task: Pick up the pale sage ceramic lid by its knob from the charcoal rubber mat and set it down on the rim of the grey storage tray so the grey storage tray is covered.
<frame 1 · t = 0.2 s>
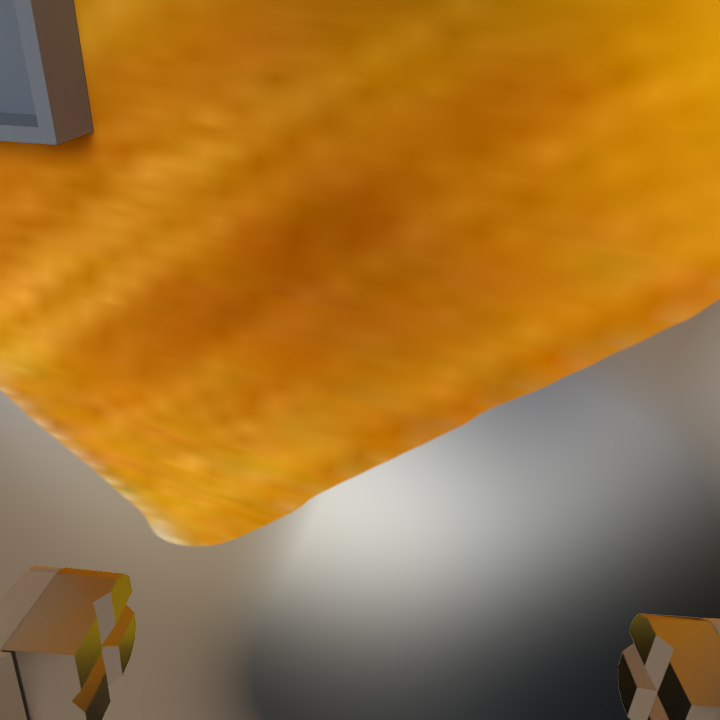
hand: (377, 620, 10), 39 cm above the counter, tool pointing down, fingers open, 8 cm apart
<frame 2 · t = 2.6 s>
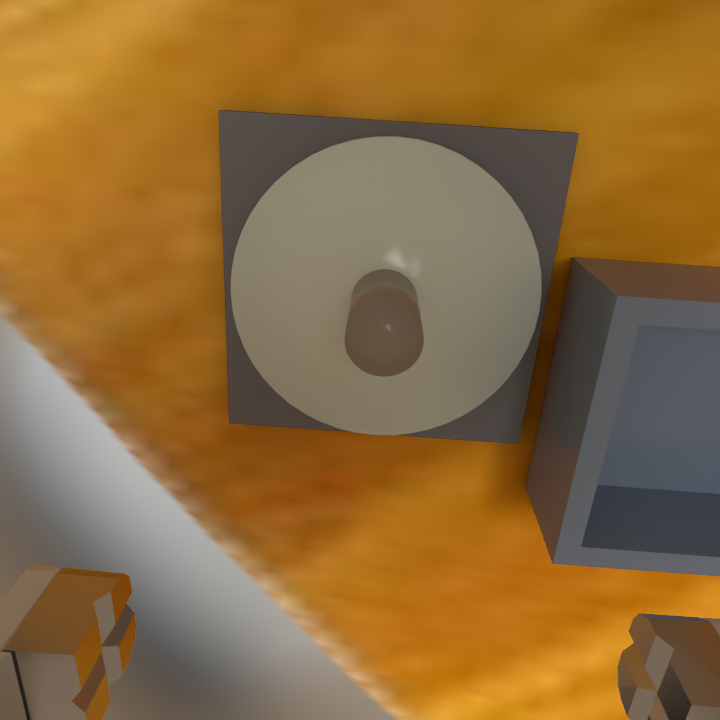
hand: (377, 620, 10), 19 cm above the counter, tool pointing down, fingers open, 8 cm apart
mat: (384, 289, 27), on the counter
grey storage tray: (674, 391, 28), on the counter
lid: (384, 294, 26), point 1 cm above the counter, touching mat
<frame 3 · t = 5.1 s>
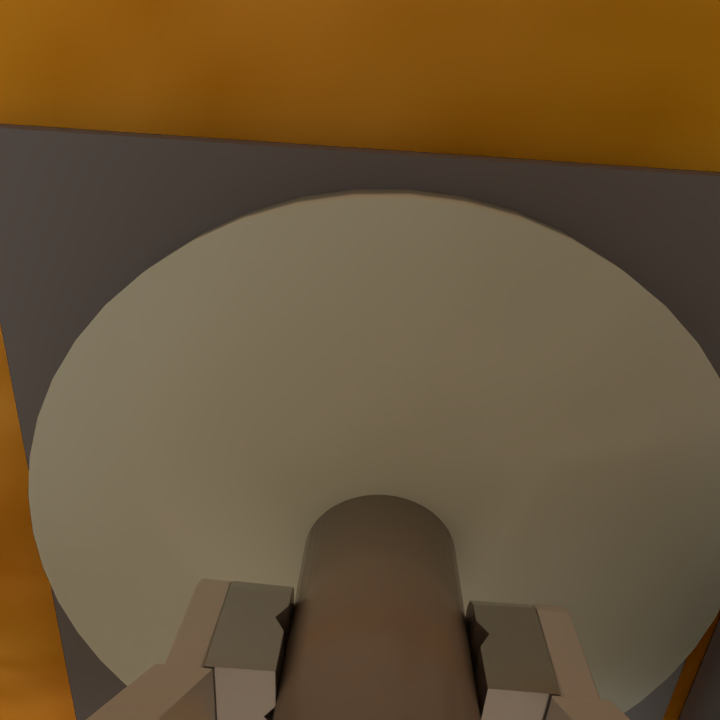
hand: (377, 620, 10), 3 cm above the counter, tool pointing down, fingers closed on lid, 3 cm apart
mat: (379, 497, 13), on the counter
lid: (380, 522, 12), point 1 cm above the counter, touching gripper, mat
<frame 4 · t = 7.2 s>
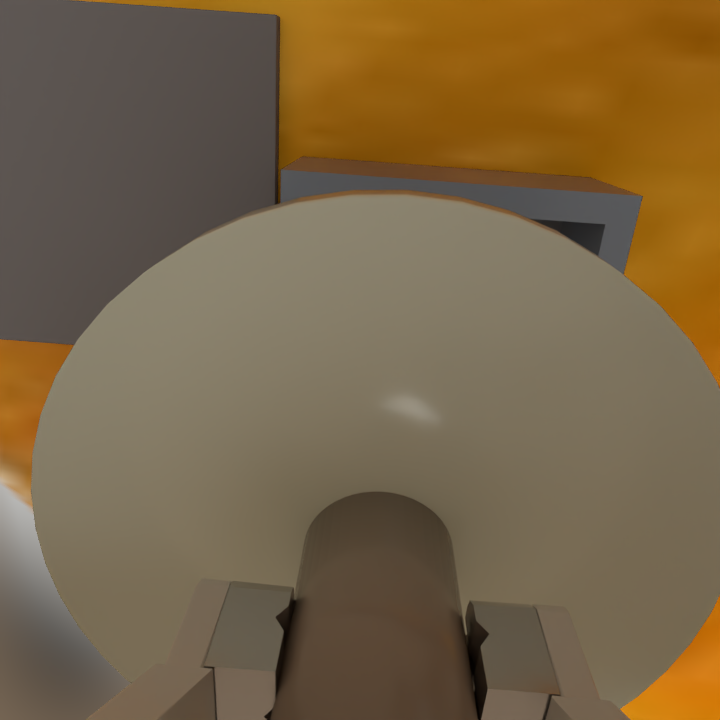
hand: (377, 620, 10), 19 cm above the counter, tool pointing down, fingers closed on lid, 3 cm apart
mat: (116, 191, 26), on the counter
grey storage tray: (429, 304, 27), on the counter
lid: (378, 519, 12), point 16 cm above the counter, touching gripper
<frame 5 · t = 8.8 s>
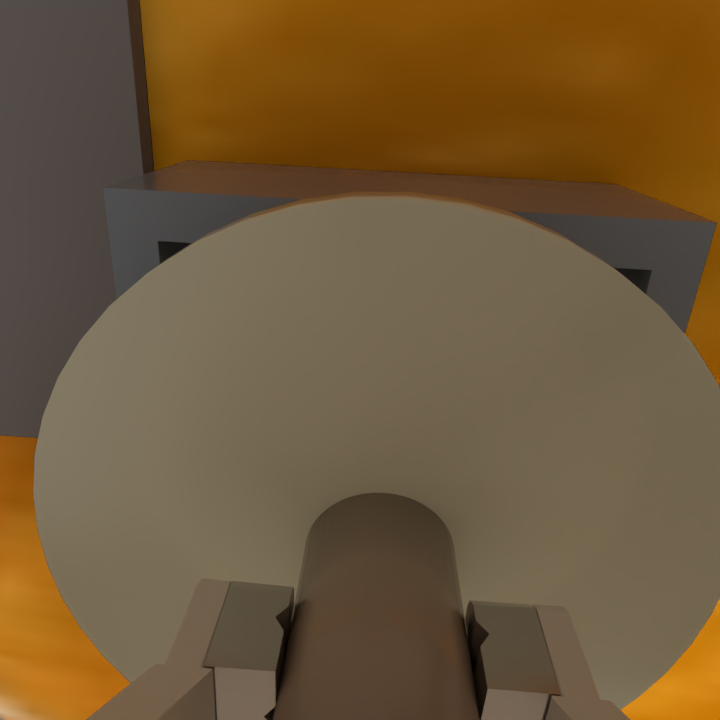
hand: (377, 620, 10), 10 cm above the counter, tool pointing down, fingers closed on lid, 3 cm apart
grey storage tray: (386, 367, 19), on the counter
lid: (380, 520, 12), point 8 cm above the counter, touching gripper
when the fingers open (9 cm above the counter, at t = 9.6 s): lid drops 1 cm, resting on grey storage tray.
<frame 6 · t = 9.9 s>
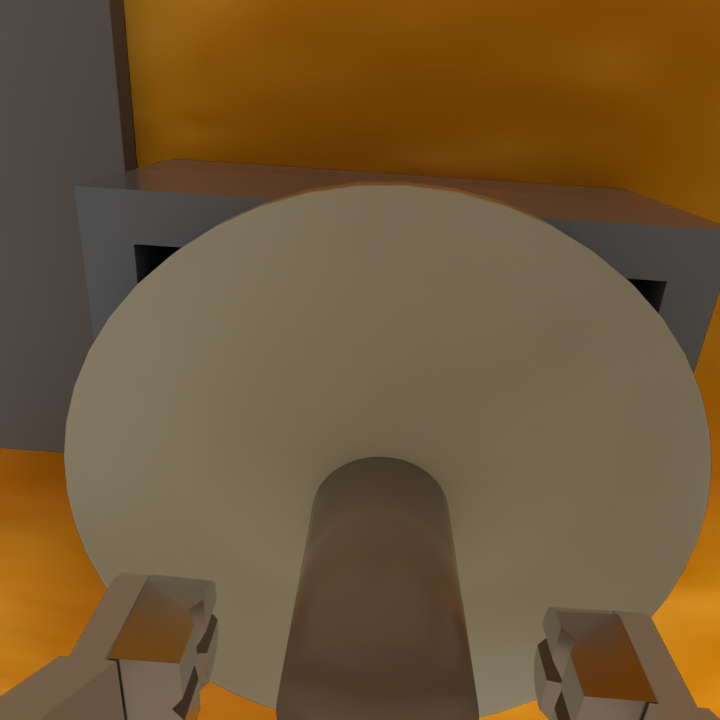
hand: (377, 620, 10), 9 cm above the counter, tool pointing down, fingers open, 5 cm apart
grey storage tray: (381, 378, 18), on the counter
lid: (380, 485, 13), point 5 cm above the counter, touching grey storage tray
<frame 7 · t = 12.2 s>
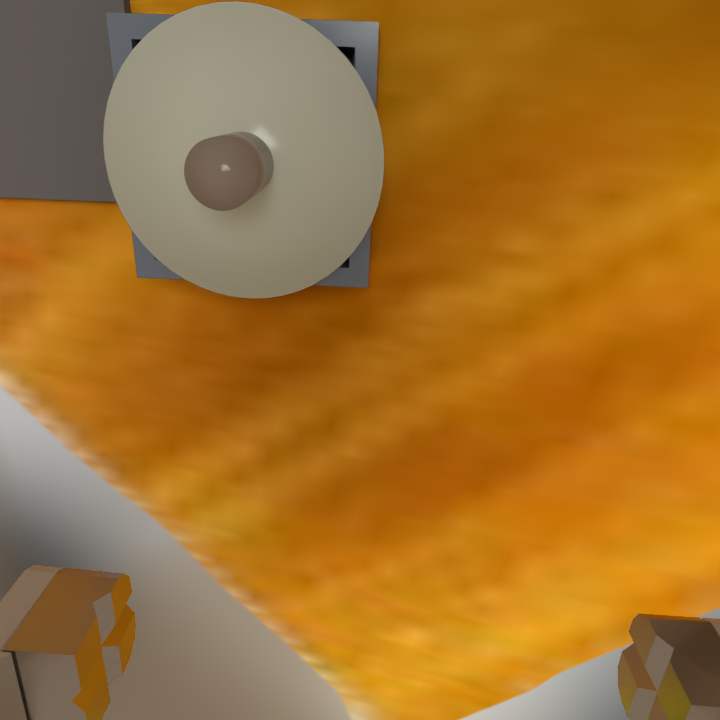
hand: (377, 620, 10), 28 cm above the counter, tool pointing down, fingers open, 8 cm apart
mat: (8, 63, 32), on the counter
grey storage tray: (268, 151, 34), on the counter
lid: (248, 161, 29), point 5 cm above the counter, touching grey storage tray
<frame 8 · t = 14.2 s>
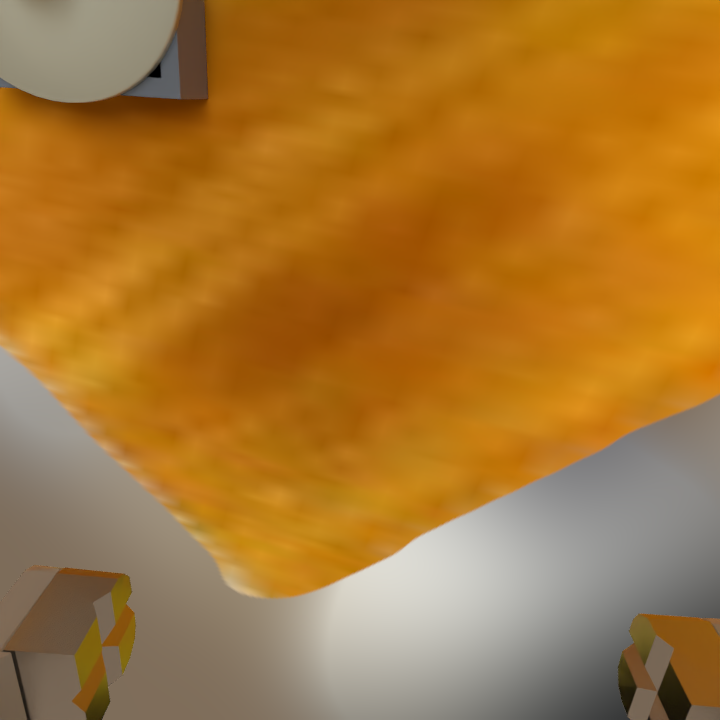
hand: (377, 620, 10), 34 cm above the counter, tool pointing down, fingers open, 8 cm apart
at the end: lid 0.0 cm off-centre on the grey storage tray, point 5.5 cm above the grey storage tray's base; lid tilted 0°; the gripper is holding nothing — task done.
